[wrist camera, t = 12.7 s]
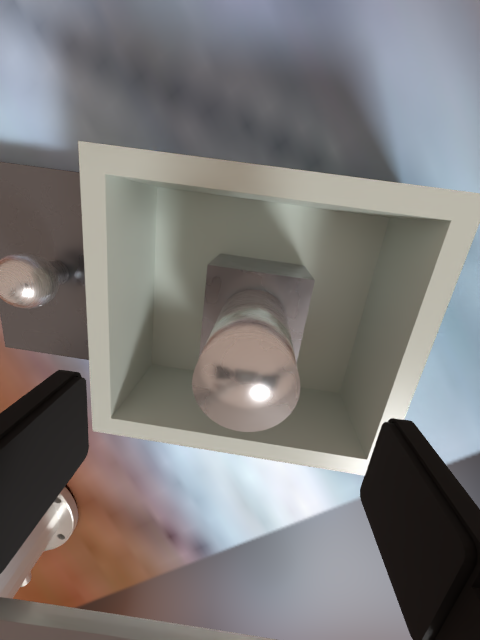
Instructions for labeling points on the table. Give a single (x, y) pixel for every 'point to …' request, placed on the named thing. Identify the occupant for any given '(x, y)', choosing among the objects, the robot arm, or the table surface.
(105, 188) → the bin
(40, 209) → the stud base
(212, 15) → the table surface
